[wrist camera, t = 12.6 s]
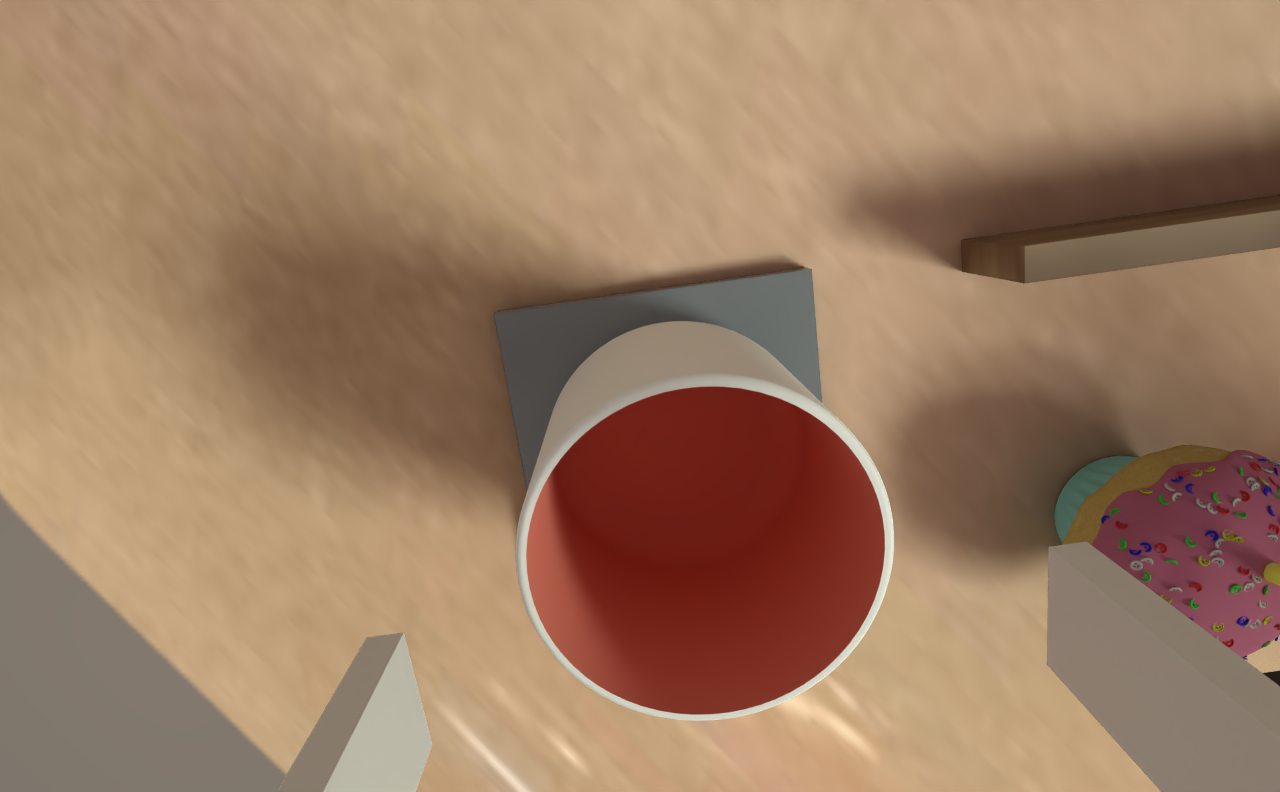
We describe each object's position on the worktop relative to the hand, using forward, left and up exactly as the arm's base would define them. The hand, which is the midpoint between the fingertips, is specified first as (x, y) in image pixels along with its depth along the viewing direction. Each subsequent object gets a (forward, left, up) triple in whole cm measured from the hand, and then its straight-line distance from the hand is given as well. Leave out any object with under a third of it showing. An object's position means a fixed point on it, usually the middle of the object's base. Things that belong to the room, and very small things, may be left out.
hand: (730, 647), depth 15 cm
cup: (0, 0, -15) cm, 15 cm away
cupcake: (+6, +18, -15) cm, 24 cm away
